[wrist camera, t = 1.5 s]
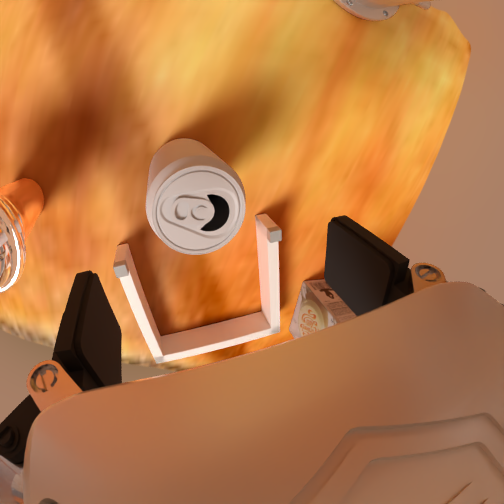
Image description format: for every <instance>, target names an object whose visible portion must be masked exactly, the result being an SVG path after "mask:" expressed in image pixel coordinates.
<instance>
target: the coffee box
mask: <svg viewBox="0 0 504 504" xmlns="http://www.w3.org/2000/svg"><path fill="white" fill-rule="evenodd" d="M354 317H357V316H356V315H355V314H354V312H353V311H352V310H351V309H350V308H349V307H348V306H347V305H346V304H345V303H344V301H343V300H342V299H341V298H340V297H339V296H338V295H337V294H336V293H335V292H334V291H333V289H332V288H331V287H330V286H329V285H328V284H327V283H326V281H325V279H320V280H310V281H304V282H303V284H302V287H301V291H300V294H299V298H298V301H297V305H296V308H295V311H294V315H293V318H292V321H291V325H290V328H289V331H290V332H291V334H292V335H293V337H294V339H296V338H299V337H301V336H304V335H307V334H310V333H313V332H316V331H319V330H322V329H324V328H327V327H330V326H333V325H335V324H338V323H341V322H343V321H346V320H349V319H351V318H354Z"/></svg>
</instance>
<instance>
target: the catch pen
mask: <svg viewBox="0 0 504 504" xmlns="http://www.w3.org/2000/svg"><path fill="white" fill-rule="evenodd" d="M255 219H256V233H257V247H258V262H259V276H260V291H261V306H262V311H260V312H257V313H253V314H249V315H246V316H242V317H238V318H234V319H231V320H227V321H223V322H219V323H215V324H211V325H207V326H203V327H199V328H195V329H191V330H186V331H182V332H178V333H173V334H169V335H164V336H160V333H159V331H158V329H157V326H156V323H155V321H154V318H153V316H152V313H151V310H150V308H149V305H148V302H147V300H146V297H145V294H144V291H143V288H142V286H141V283H140V280H139V277H138V274H137V271H136V268H135V265H134V262H133V258H132V255H131V252H130V249H129V245H128V243H126V244H122V245H118V246H117V250H116V255H115V260H114V266H113V268H114V271H115V274H116V277H117V278H120V280H121V283H122V286H123V288H124V291H125V293H126V296H127V298H128V301H129V303H130V306H131V308H132V311H133V313H134V315H135V318H136V320H137V322H138V325H139V327H140V329H141V331H142V334H143V336H144V338H145V340H146V342H147V344H148V346H149V349H150V351H151V353H152V355H153V357H154V359H155V361H156V363H162V362H167V361H171V360H176V359H181V358H185V357H189V356H193V355H198V354H202V353H206V352H210V351H214V350H218V349H222V348H225V347H229V346H233V345H237V344H240V343H244V342H247V341H251V340H254V339H258V338H261V337H265V336H268V335H271V334H275V333H278V332H280V292H279V246H278V241H282V231H281V229H280V228H279V227H278V226H277V225H276V224H275V223H274V221H273V220H272V219H271V218H270V217H269V216H268V215H267V214H266V213H265V214H260V215H255Z"/></svg>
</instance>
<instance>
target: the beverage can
mask: <svg viewBox="0 0 504 504" xmlns="http://www.w3.org/2000/svg"><path fill="white" fill-rule="evenodd" d="M146 213H147V218H148V221H149V223H150V225H151V227H152V229H153V231H154V232H155V233H156V235H157V236H158V237H159V238H160V239H161V240H162V241H163V242H164V243H165V244H167V245H168V246H169V247H171V248H172V249H174V250H176V251H179V252H182V253H185V254H192V255H199V254H206V253H210V252H213V251H215V250H217V249H219V248H221V247H223V246H224V245H226V244H227V243H228V242H229V241H230V240H231V239H232V238H233V237H234V236H235V235H236V234H237V232H238V231H239V229H240V227H241V225H242V223H243V220H244V216H245V191H244V187H243V184H242V182H241V180H240V178H239V176H238V175H237V173H236V172H235V171H234V170H233V169H232V168H231V167H230V166H229V165H228V164H227V163H225V162H224V161H223V160H222V159H221V158H219V157H218V156H217V155H216V154H215V153H213V152H212V151H211V150H210V149H209V148H207V147H206V146H205V145H204V144H202V143H201V142H199V141H197V140H193V139H188V138H181V139H175V140H172V141H170V142H168V143H166V144H165V145H163V146H162V147H161V148H160V149H159V150H158V151H157V152H156V153H155V155H154V157H153V159H152V161H151V164H150V169H149V177H148V187H147V197H146Z"/></svg>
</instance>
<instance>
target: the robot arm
mask: <svg viewBox="0 0 504 504" xmlns="http://www.w3.org/2000/svg"><path fill="white" fill-rule="evenodd" d="M334 1H335V2H336V3H337V4H338V5H339V6H340V7H342V8H343V9H345V10H346V11H347V12H349V13H351V14H353V15H354V16H356V17H359V18H362V19H364V20H370V21H380V20H385V19H388V18H390V17H392V16H393V15H394V14H396V12H397V10H398V9H399V5H403V4H412V3H413V4H414V5H416V6H418V7H420V8H422V9H425V10H426V9H428V8H430V1H432V0H334ZM408 265H409V259H408V258H406V257H405V256H403V255H402V254H401V253H399V252H398V251H397V250H395V249H394V248H393V247H391V246H390V245H388V244H387V243H385V242H384V241H383V240H381V239H380V238H378V237H377V236H375V235H374V234H373V233H371V232H370V231H368V230H367V229H365V228H364V227H362V226H361V225H359V224H358V223H356V222H355V221H353V220H352V219H350V218H349V217H347V216H345V215H344V216H339V217H334V218H332V219H331V222H329V223H328V233H327V247H326V260H325V272H324V278H325V281H326V283H327V284H328V285H329V286H330V287H331V288H332V289H333V291H334V292H335V293H336V294H337V295H338V296H339V297H340V298H341V299H342V300H343V301H344V303H345V304H346V305H347V306H348V307H349V308H350V309H351V310H352V311H353V312H354V314H355V315H356V316H357V317H354V318H351V319H349V320H346V321H343V322H341V323H338V324H335V325H333V326H330V327H327V328H324V329H322V330H319V331H316V332H313V333H310V334H307V335H304V336H301V337H299V338H296V339H293V340H289V341H286V342H283V343H280V344H277V345H274V346H271V347H267V348H264V349H261V350H258V351H254V352H251V353H247V354H244V355H240V356H237V357H233V358H230V359H226V360H222V361H219V362H215V363H211V364H207V365H203V366H199V367H195V368H191V369H187V370H182V371H178V372H174V373H169V374H164V375H160V376H155V377H150V378H145V379H140V380H134V381H130V382H125V383H122V381H121V380H122V377H121V338H122V335H121V329H120V326H119V324H118V322H117V320H116V317H115V315H114V313H113V311H112V309H111V306H110V304H109V302H108V299H107V297H106V295H105V292H104V290H103V287H102V285H101V282H100V280H99V277H98V275H97V274H96V273H94V274H93V273H92V271H85V272H81V273H77V274H76V277H75V280H74V283H73V286H72V289H71V292H70V295H69V298H68V302H67V305H66V309H65V312H64V313H63V316H62V320H61V323H60V327H59V331H58V335H57V339H56V343H55V348H54V352H53V357H52V360H46V361H43V362H40V363H39V364H38V365H36V366H35V367H34V368H33V369H32V370H31V371H30V373H29V375H28V379H27V388H28V391H29V393H30V395H29V396H28V397H26V398H25V400H23V401H22V402H21V404H19V405H18V406H17V407H16V408H15V410H13V411H12V413H11V414H10V415H9V416H8V417H7V418H6V419H5V420H4V421H3V422H2V423H1V424H0V504H504V305H503V304H501V303H499V302H498V301H497V300H495V299H494V298H493V297H492V296H490V295H489V294H487V293H486V292H485V291H484V290H483V289H481V288H479V287H477V286H475V285H474V284H471V283H468V282H446V279H445V276H444V274H443V272H442V271H441V270H440V269H439V268H437V267H436V266H434V265H432V264H428V263H416V264H414V265H413V266H412V268H411V270H410V269H409V268H408Z"/></svg>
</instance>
